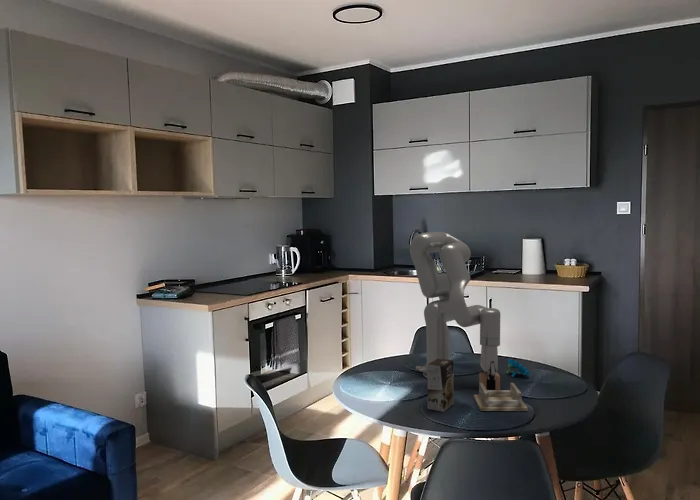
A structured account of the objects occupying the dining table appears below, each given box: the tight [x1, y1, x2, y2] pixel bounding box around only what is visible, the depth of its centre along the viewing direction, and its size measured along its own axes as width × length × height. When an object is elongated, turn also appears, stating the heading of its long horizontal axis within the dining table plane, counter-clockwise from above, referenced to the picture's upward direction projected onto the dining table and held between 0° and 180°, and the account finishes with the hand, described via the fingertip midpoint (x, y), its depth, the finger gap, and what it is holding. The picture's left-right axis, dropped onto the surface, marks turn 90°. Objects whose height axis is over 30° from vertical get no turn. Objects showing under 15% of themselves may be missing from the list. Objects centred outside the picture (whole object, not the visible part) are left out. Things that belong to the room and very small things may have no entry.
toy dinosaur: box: [506, 358, 531, 378], centre depth 234 cm, size 11×6×10 cm
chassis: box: [473, 382, 529, 412], centre depth 202 cm, size 16×14×6 cm
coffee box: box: [427, 359, 454, 413], centre depth 200 cm, size 9×6×16 cm
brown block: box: [478, 372, 501, 390], centre depth 219 cm, size 7×5×6 cm
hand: (489, 386), depth 219 cm, fingers closed on brown block, 5 cm apart
